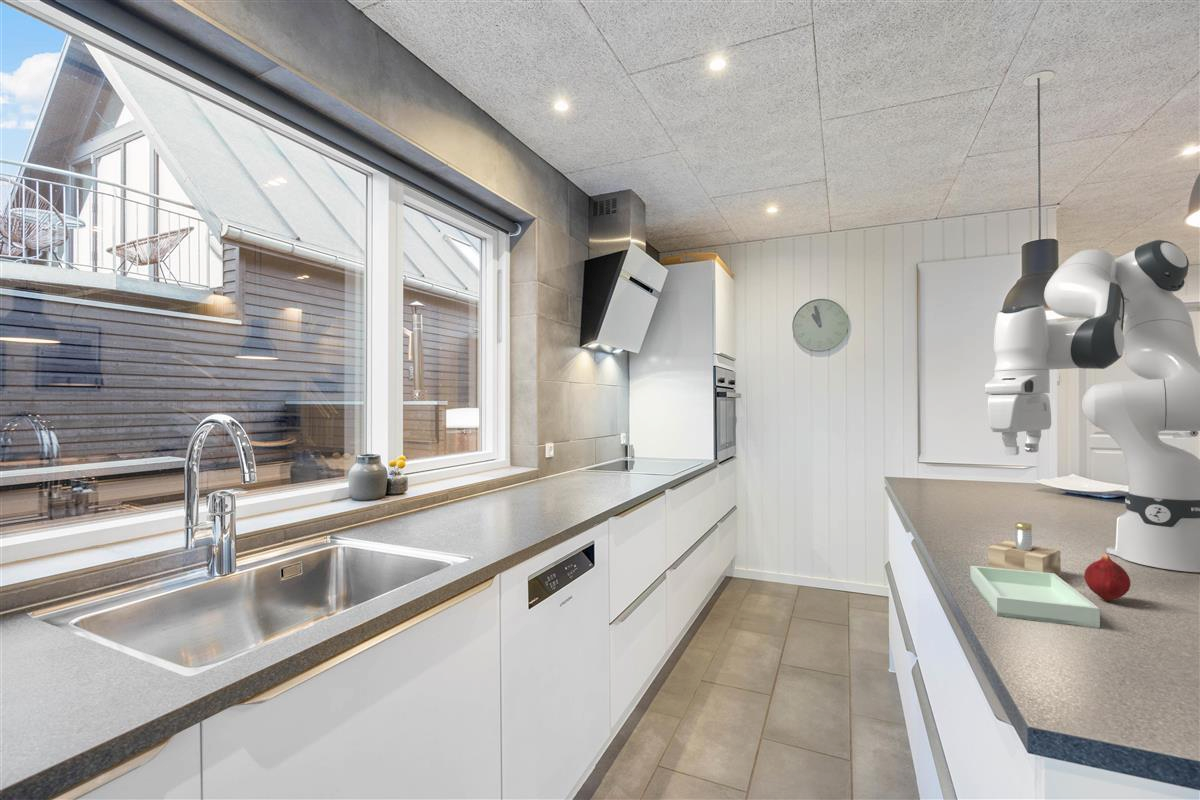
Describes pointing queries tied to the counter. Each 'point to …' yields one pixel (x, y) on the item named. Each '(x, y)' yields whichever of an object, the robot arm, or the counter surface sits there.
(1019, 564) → the hitch block
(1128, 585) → the onion
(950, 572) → the counter surface
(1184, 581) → the counter surface
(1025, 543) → the steel pin
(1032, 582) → the tray
